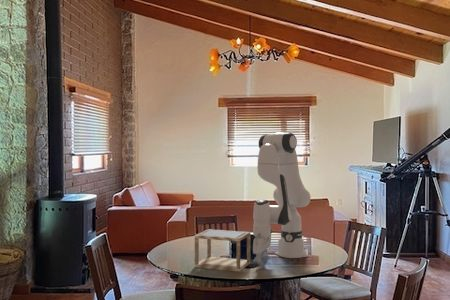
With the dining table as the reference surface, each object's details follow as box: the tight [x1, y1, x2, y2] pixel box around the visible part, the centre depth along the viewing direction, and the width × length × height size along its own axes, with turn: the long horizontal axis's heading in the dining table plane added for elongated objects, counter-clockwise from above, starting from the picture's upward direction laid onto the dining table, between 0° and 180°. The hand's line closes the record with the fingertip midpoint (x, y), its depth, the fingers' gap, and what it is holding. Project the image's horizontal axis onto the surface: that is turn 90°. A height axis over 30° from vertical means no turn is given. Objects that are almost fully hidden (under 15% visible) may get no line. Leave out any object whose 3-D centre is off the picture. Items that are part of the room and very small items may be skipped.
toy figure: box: [253, 251, 271, 270], centre depth 236 cm, size 11×6×12 cm, turn 124°
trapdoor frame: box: [194, 228, 251, 273], centre depth 243 cm, size 24×18×16 cm
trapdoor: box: [200, 229, 246, 245], centre depth 243 cm, size 20×14×3 cm
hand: (261, 259), depth 236 cm, fingers open, 8 cm apart
